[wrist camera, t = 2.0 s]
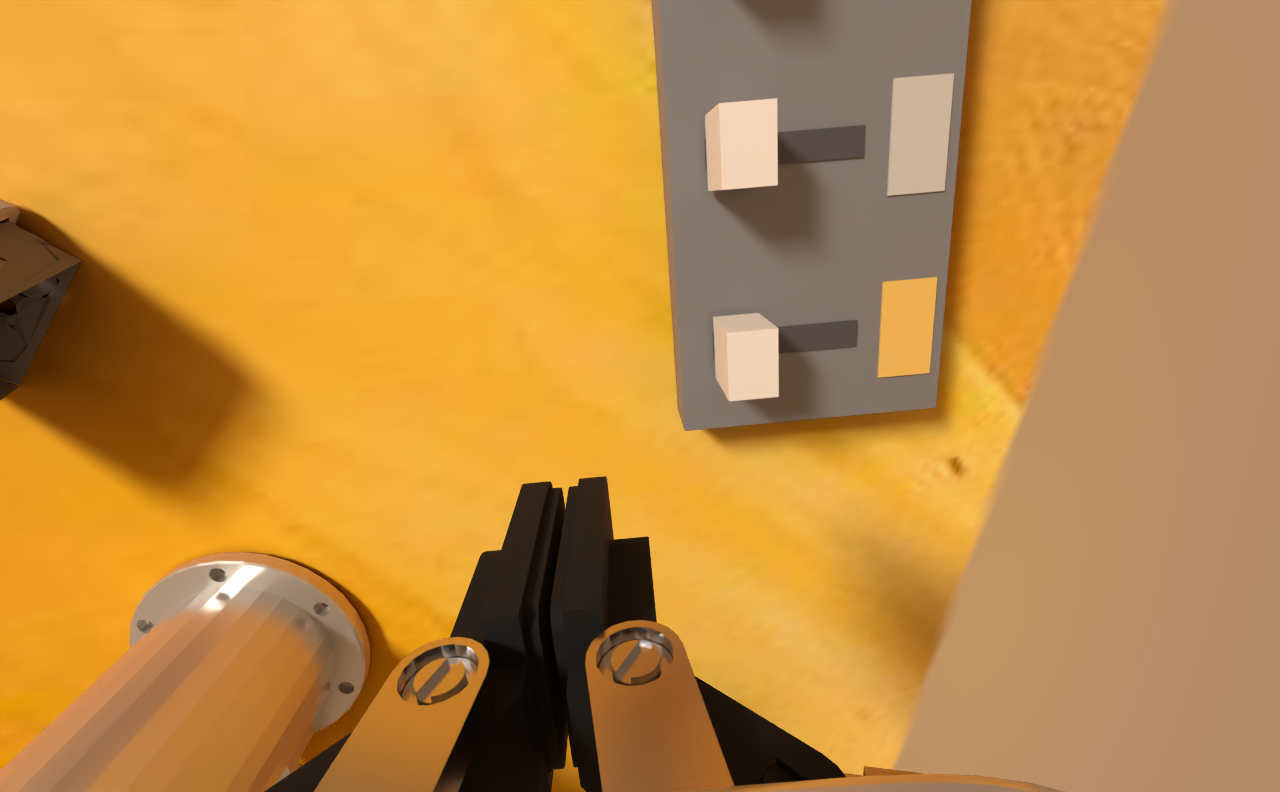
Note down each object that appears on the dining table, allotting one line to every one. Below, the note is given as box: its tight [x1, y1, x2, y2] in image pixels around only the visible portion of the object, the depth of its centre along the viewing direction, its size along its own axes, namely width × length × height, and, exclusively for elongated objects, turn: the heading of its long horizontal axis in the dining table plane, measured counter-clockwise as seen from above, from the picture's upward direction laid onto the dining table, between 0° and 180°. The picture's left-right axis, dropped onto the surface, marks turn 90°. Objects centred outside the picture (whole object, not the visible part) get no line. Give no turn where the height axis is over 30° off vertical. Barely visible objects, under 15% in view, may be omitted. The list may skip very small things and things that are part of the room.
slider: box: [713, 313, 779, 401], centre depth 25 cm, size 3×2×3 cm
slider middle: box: [705, 98, 778, 191], centre depth 22 cm, size 3×2×3 cm
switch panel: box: [652, 0, 972, 431], centre depth 25 cm, size 24×12×3 cm, turn 5°
